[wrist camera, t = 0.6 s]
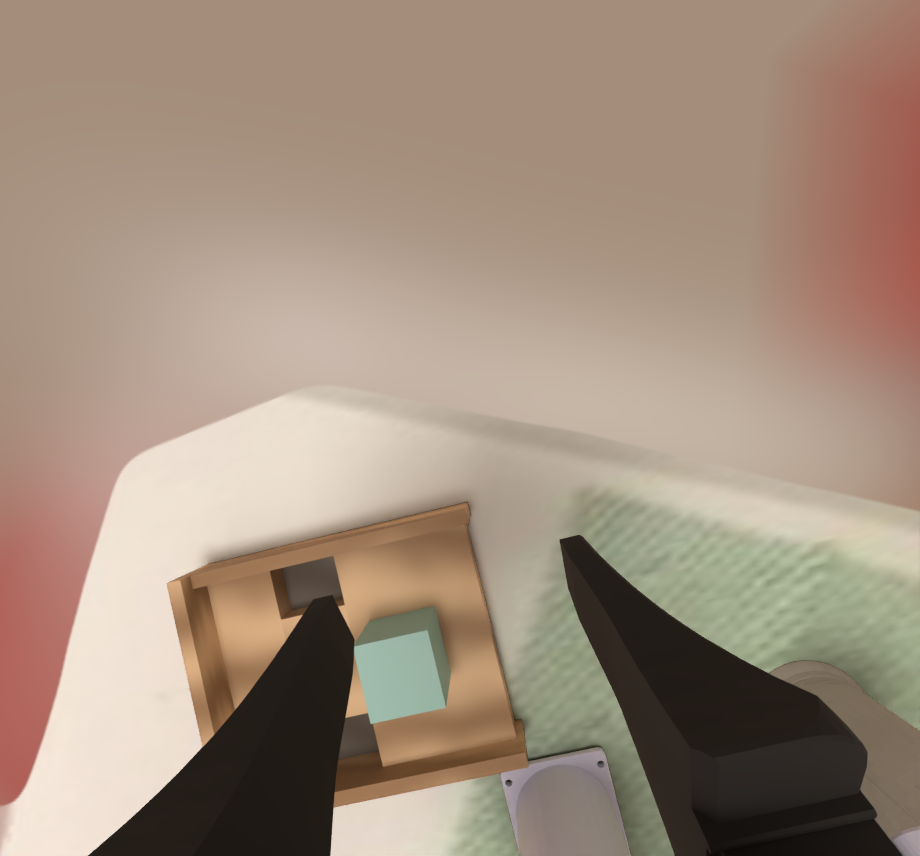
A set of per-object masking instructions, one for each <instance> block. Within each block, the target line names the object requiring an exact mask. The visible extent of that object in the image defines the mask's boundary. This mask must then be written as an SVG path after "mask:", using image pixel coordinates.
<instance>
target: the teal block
mask: <svg viewBox="0 0 920 856" xmlns="http://www.w3.org/2000/svg"><path fill="white" fill-rule="evenodd" d="M354 655H355V659H356V664H357V668H358V672H359V677H360V681H361V685H362V689H363V694H364V698H365V702H366V706H367V711H368V715H369V719H370V723H371V724H373V723H378V722H382V721H387V720H392V719H396V718H401V717H406V716H410V715H415V714H420V713H424V712H429V711H433V710H438V709H443V708H446V706H447V699H448V692H449V685H450V678H451V671H450V667H449V662H448V658H447V654H446V650H445V646H444V642H443V638H442V634H441V629H440V625H439V621H438V617H437V613H436V609H435V606H431V607H427V608H422V609H418V610H414V611H409V612H405V613H400V614H396V615H392V616H387V617H383V618H379V619H374V620H370V621H369V622H368V623H367V625H366V626H365V628H364V630H363V631H362V633H361V634H360V636H359V638H358V639H357V641H356V642H355V644H354Z"/></svg>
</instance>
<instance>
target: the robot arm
mask: <svg viewBox="0 0 920 856" xmlns="http://www.w3.org/2000/svg"><path fill="white" fill-rule="evenodd" d="M560 545H561V550H562V556H563V561H564V567H565V573H566V578H567V584H568V589H569V592H570V594H571V597H572V600H573V603H574V606H575V609H576V611H577V614H578V617H579V620H580V622H581V624H582V626H583V628H584V630H585V633H586V635H587V637H588V639H589V641H590V643H591V645H592V647H593V649H594V651H595V654H596V656H597V658H598V660H599V662H600V664H601V666H602V668H603V670H604V672H605V674H606V676H607V679H608V681H609V683H610V685H611V687H612V689H613V691H614V693H615V696H616V698H617V700H618V703H619V705H620V707H621V710H622V712H623V715H624V717H625V720H626V723H627V725H628V728H629V731H630V733H631V736H632V739H633V741H634V744H635V746H636V749H637V752H638V755H639V757H640V760H641V763H642V765H643V768H644V771H645V773H646V776H647V779H648V782H649V784H650V787H651V790H652V792H653V795H654V798H655V801H656V804H657V806H658V809H659V812H660V815H661V817H662V820H663V823H664V826H665V828H666V831H667V834H668V837H669V840H670V842H671V845H672V848H673V851H674V854H675V856H920V826H917V827H912V828H909V829H905V830H902V831H900V832H898V833H896V834H895V835H893V836H892V837H891V838H890V839H889V837H888V836H887V835H886V833H885V832H884V831H883V830H882V828H881V827H880V826H879V824H878V823H877V822H876V820H875V818H877V813H876V810H875V808H874V807H873V806H872V805H871V803H870V802H869V801H868V799H867V798H866V797H865V796H864V794H863V793H862V792H861V790H860V788H861V785H862V781H863V778H864V775H865V771H866V768H867V758H868V752H867V750H866V748H865V746H864V744H863V743H862V742H861V741H860V740H859V739H858V737H857V736H856V735H855V734H854V733H853V732H852V730H851V729H850V728H849V727H848V726H847V725H846V724H845V723H844V722H843V721H842V720H841V719H840V718H839V717H838V715H837V714H836V713H834V712H833V711H832V710H831V709H830V708H829V707H828V706H827V705H826V704H825V703H824V702H823V701H822V700H821V699H820V698H819V697H818V696H817V695H815V694H812V693H810V692H808V691H806V690H804V689H801V688H799V687H797V686H795V685H793V684H790V683H788V682H786V681H784V680H782V679H779V678H777V677H775V676H773V675H771V674H769V673H767V672H765V671H763V670H761V669H759V668H757V667H755V666H753V665H751V664H749V663H747V662H746V661H744V660H742V659H740V658H738V657H737V656H735V655H733V654H731V653H730V652H728V651H726V650H724V649H723V648H721V647H719V646H718V645H716V644H714V643H712V642H711V641H709V640H707V639H705V638H704V637H702V636H701V635H699V634H698V633H696V632H695V631H693V630H691V629H690V628H688V627H687V626H685V625H684V624H682V623H681V622H680V621H678V620H677V619H675V618H674V617H672V616H671V615H669V614H668V613H667V612H665V611H664V610H663V609H661V608H660V607H659V606H657V605H656V604H655V603H653V602H652V601H651V600H650V599H648V598H647V597H646V596H645V595H643V594H642V593H641V592H640V591H638V590H637V589H636V588H635V587H634V586H632V585H631V584H630V583H629V582H628V581H627V580H626V579H625V578H623V577H622V576H621V575H620V574H619V573H618V572H617V571H616V570H615V569H613V568H612V567H611V566H610V565H609V564H608V563H607V562H606V561H605V560H604V559H603V558H602V557H601V556H600V555H599V554H598V553H597V552H596V551H595V550H594V549H593V548H592V546H591V545H590V544H589V543H588V542H587V541H586V540H585V539H584V537H582V536H580V535H577V536H572V537H568V538H564V539H560ZM354 642H355V639H354V637H353V635H352V633H351V631H350V629H349V627H348V625H347V623H346V621H345V619H344V617H343V615H342V613H341V611H340V609H339V607H338V605H337V603H336V601H335V599H334V597H333V595H329V596H325V597H321V598H317V599H313V601H312V602H311V603H310V605H309V606H308V608H307V609H306V611H305V612H304V614H303V615H302V617H301V618H300V620H299V621H298V623H297V624H296V626H295V627H294V629H293V631H292V632H291V634H290V635H289V637H288V638H287V640H286V641H285V642H284V644H283V645H282V647H281V648H280V650H279V651H278V653H277V654H276V656H275V657H274V659H273V660H272V662H271V663H270V664H269V666H268V667H267V668H266V670H265V671H264V673H263V674H262V675H261V677H260V678H259V679H258V681H257V682H256V683H255V685H254V686H253V687H252V689H251V690H250V692H249V693H248V694H247V696H246V697H245V698H244V699H243V701H242V702H241V703H240V705H239V706H238V707H237V708H236V709H235V711H234V712H233V713H232V714H231V716H230V717H229V718H228V719H227V720H226V721H225V723H224V724H223V725H222V726H221V727H220V729H219V730H218V731H217V732H216V733H215V734H214V735H213V737H212V738H211V739H210V740H209V741H208V742H207V743H206V744H205V745H204V746H203V747H202V748H201V749H200V751H199V752H198V753H197V754H196V755H195V756H194V757H193V758H192V759H191V760H190V761H189V762H188V763H187V764H186V766H185V767H184V768H183V769H182V770H181V771H180V772H179V773H178V774H177V775H176V776H175V777H174V778H173V779H172V780H171V781H170V782H169V783H168V784H167V785H166V786H165V787H164V788H163V789H162V790H161V791H160V792H159V793H158V794H157V795H156V796H154V797H153V798H152V799H151V800H150V801H149V802H148V803H147V804H146V805H145V806H144V807H143V808H142V809H141V810H140V811H139V812H137V813H136V814H135V815H134V816H133V817H132V818H131V819H130V820H129V821H128V822H126V823H125V824H124V825H123V826H122V827H121V828H120V829H118V830H117V831H116V832H115V833H114V834H113V835H111V836H110V837H109V838H108V839H107V840H106V841H105V842H103V843H102V844H101V845H100V846H99V847H98V848H97V849H95V850H94V851H93V852H92V853H91V854H90V855H88V856H330V851H331V835H332V820H333V807H334V795H335V783H336V772H337V765H338V758H339V751H340V746H341V740H342V734H343V729H344V723H345V717H346V712H347V706H348V700H349V694H350V688H351V682H352V676H353V664H354ZM598 761H603V762H602V763H601V764H598ZM528 764H529V767H528V768H523V769H518V770H513V771H508V772H503V773H500V774H501V781H502V785H503V789H504V793H505V797H506V801H507V805H508V809H509V813H510V817H511V822H512V826H513V830H514V834H515V838H516V842H517V846H518V850H519V856H631V854H630V850H629V846H628V842H627V838H626V834H625V830H624V826H623V822H622V818H621V814H620V810H619V806H618V802H617V798H616V794H615V790H614V786H613V782H612V779H611V775H610V771H609V767H608V763H607V759H606V755H605V752H604V750H603V749H602V748H599V747H596V748H591V749H586V750H581V751H576V752H571V753H567V754H562V755H557V756H552V757H547V758H542V759H538V760H533V761H528ZM508 779H509V780H511V782H506V780H508Z"/></svg>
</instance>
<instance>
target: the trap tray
mask: <svg viewBox="0 0 920 856" xmlns="http://www.w3.org/2000/svg"><path fill="white" fill-rule="evenodd" d="M470 515H471V514H470V510H469V506H468V502H465V503H461V504H457V505H453V506H449V507H445V508H440V509H436V510H432V511H428V512H424V513H420V514H415V515H411V516H407V517H403V518H399V519H395V520H390V521H386V522H382V523H378V524H374V525H370V526H365V527H361V528H357V529H353V530H349V531H345V532H340V533H336V534H332V535H328V536H324V537H320V538H315V539H311V540H307V541H303V542H299V543H295V544H290V545H286V546H282V547H278V548H274V549H270V550H265V551H261V552H257V553H253V554H249V555H245V556H240V557H236V558H232V559H228V560H224V561H220V562H215V563H211V564H207V565H205V566H203V567H201V568H199V569H196V570H194V571H192V572H190V573H188V574H186V575H183V576H181V577H179V578H177V579H175V580H173V581H170V582H168V583H167V588H168V592H169V597H170V601H171V606H172V610H173V615H174V619H175V624H176V628H177V633H178V637H179V642H180V646H181V651H182V655H183V660H184V665H185V669H186V674H187V678H188V683H189V687H190V692H191V696H192V701H193V705H194V710H195V714H196V719H197V723H198V728H199V732H200V737H201V741H202V746H204V745H205V744H206V743H207V742H208V741H209V740H210V739H211V738H212V737H213V735H214V734H215V733H216V732H217V731H218V730H219V729H220V727H221V726H222V725H223V724H224V723H225V721H226V720H227V719H228V718H229V717H230V716H231V714H232V713H233V712H234V711H235V709H236V708H237V707H238V706H239V705H240V703H241V702H242V701H243V699H244V698H245V697H246V696H247V694H248V693H249V692H250V690H251V689H252V687H253V686H254V685H255V683H256V682H257V681H258V679H259V678H260V677H261V675H262V674H263V673H264V671H265V670H266V668H267V667H268V666H269V664H270V663H271V662H272V660H273V659H274V657H275V656H276V654H277V653H278V651H279V650H280V648H281V647H282V645H283V644H284V642H285V641H286V640H287V638H288V637H289V635H290V634H291V632H292V631H293V629H294V627H295V626H296V624H297V623H298V621H299V620H300V618H301V617H302V615H303V614H304V612H305V611H306V609H307V608H308V606H309V605H310V603H311V602H312V601H313V599H317V598H321V597H325V596H329V595H333V597H334V599H335V601H336V603H337V605H338V607H339V609H340V611H341V613H342V615H343V617H344V619H345V621H346V623H347V625H348V627H349V629H350V631H351V633H352V635H353V637H354V639H355V642H356V641H357V639H358V638H359V636H360V634H361V633H362V631H363V630H364V628H365V626H366V625H367V623H368V622H369V621H370V620H374V619H379V618H383V617H387V616H392V615H396V614H400V613H405V612H409V611H414V610H418V609H422V608H427V607H431V606H435V609H436V613H437V617H438V621H439V625H440V629H441V634H442V638H443V642H444V646H445V650H446V654H447V658H448V662H449V667H450V671H451V678H450V685H449V692H448V699H447V706H446V708H443V709H438V710H433V711H429V712H424V713H420V714H415V715H410V716H406V717H401V718H396V719H392V720H387V721H382V722H378V723H373V724H371V723H370V719H369V715H368V711H367V706H366V702H365V698H364V694H363V689H362V685H361V681H360V677H359V672H358V668H357V664H356V659H355V655H354V664H353V676H352V682H351V688H350V694H349V700H348V706H347V712H346V717H345V723H344V729H343V734H342V740H341V746H340V751H339V758H338V765H337V772H336V783H335V795H334V807H338V806H343V805H348V804H353V803H357V802H362V801H367V800H372V799H377V798H382V797H387V796H391V795H396V794H401V793H406V792H411V791H416V790H421V789H425V788H430V787H435V786H440V785H445V784H450V783H455V782H460V781H464V780H469V779H474V778H479V777H484V776H489V775H494V774H498V773H503V772H508V771H513V770H518V769H523V768H528V767H529V764H528V756H527V749H526V741H525V733H524V729H523V725H522V721H521V719H520V720H514V716H513V711H512V707H511V703H510V699H509V695H508V691H507V687H506V683H505V679H504V675H503V671H502V667H501V663H500V659H499V655H498V650H497V646H496V642H495V638H494V634H493V630H492V626H491V622H490V618H489V614H488V610H487V606H486V602H485V598H484V594H483V590H482V585H481V581H480V577H479V573H478V569H477V565H476V561H475V557H474V553H473V549H472V545H471V541H470V537H469V533H468V529H467V524H469V521H470ZM355 642H354V644H355Z"/></svg>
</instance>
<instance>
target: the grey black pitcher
mask: <svg viewBox="0 0 920 856" xmlns="http://www.w3.org/2000/svg"><path fill="white" fill-rule="evenodd" d="M769 674H771V675H773V676H775V677H777V678H779V679H782V680H784V681H786V682H788V683H790V684H793V685H795V686H797V687H799V688H801V689H804V690H806V691H808V692H810V693H812V694H815V695H817V696H818V697H819V698H820V699H821V700H822V701H823V702H824V703H825V704H826V705H827V706H828V707H829V708H830V709H831V710H832V711H833V712H834V713H836V714H837V715H838V717H839V718H840V719H841V720H842V721H843V722H844V723H845V724H846V725H847V726H848V727H849V728H850V729H851V730H852V732H853V733H854V734H855V735H856V736H857V737H858V739H859V740H860V741H861V742H862V743H863V744H864V746H865V748H866V750H867V752H868V758H867V768H866V771H865V775H864V778H863V781H862V785H861V788H860V790H861V792H862V793H863V794H864V796H865V797H866V798H867V799H868V801H869V802H870V803H871V805H872V806H873V807H874V808H875V810H876V813H877V818H875V820H876V822H877V823H878V824H879V826H880V827H881V828H882V830H883V831H884V832H885V833H886V835H887V836H888V837H889V839H890V838H891V837H892V836H893V835H895V834H896V833H898V832H900V831H902V830H905V829H909V828H912V827H917V826H920V731H919V730H917V729H916V728H914V727H913V726H912V725H910V724H909V723H907V722H906V721H904V720H903V719H901V718H900V717H898V716H897V715H895V714H894V713H892V712H891V711H889V710H888V709H886V708H885V707H883V706H882V705H880V704H879V703H878V702H876V701H875V700H873V699H872V698H870V697H869V696H867V695H866V694H865V693H864V692H863V691H862V689H861V688H860V687H859V685H858V684H857V683H856V682H855V681H854V680H853V679H852V678H851V677H849V676H848V675H847V674H846V673H844V672H843V671H841V670H840V669H838V668H836V667H834V666H831V665H829V664H826V663H822V662H818V661H807V660H805V661H795V662H791V663H788V664H785V665H782V666H780V667H778V668H776V669H775V670H773V671H772V672H770V673H769Z"/></svg>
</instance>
